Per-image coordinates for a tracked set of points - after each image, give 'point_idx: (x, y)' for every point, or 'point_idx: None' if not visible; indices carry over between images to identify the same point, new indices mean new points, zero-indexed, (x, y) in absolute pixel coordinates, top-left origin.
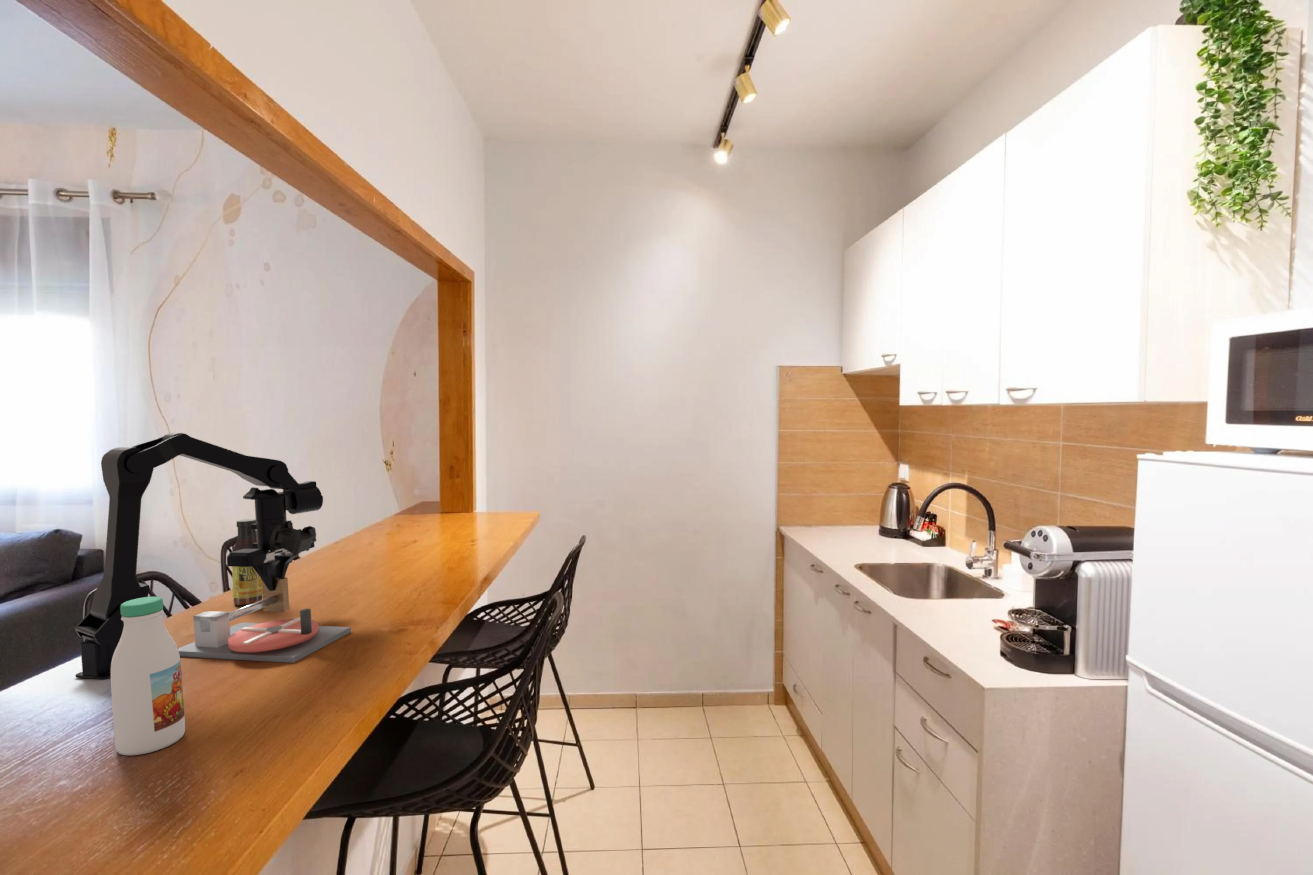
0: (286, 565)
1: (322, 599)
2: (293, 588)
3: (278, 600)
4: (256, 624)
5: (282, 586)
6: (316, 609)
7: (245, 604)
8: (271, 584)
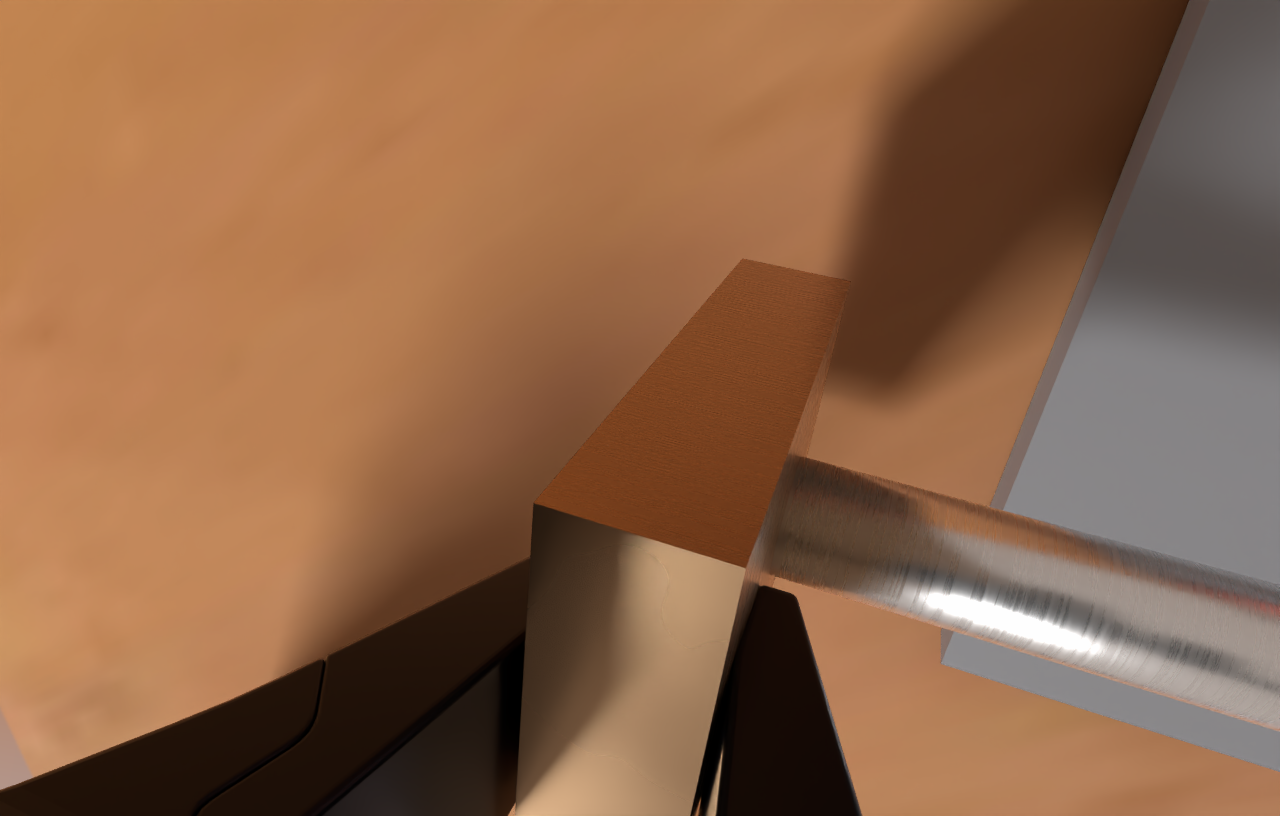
0: (171, 803)
1: (138, 256)
2: (40, 608)
3: (809, 422)
4: (1068, 486)
5: (775, 461)
6: (387, 130)
7: None
8: (816, 705)
